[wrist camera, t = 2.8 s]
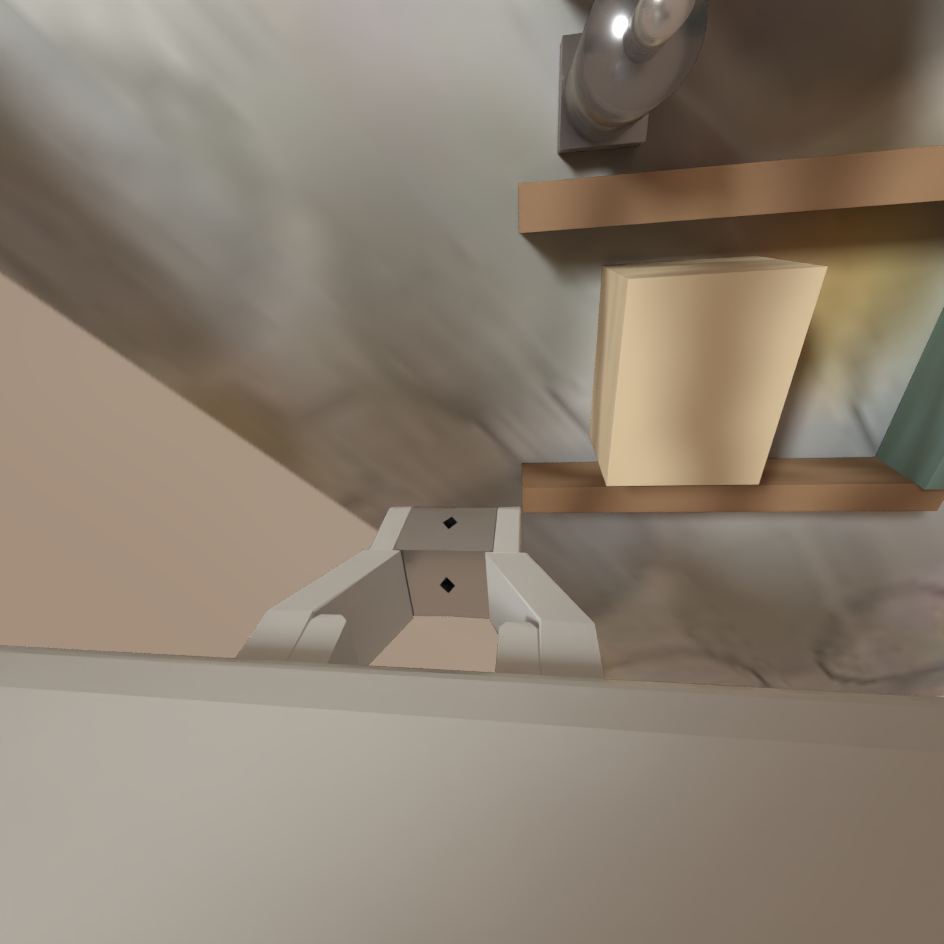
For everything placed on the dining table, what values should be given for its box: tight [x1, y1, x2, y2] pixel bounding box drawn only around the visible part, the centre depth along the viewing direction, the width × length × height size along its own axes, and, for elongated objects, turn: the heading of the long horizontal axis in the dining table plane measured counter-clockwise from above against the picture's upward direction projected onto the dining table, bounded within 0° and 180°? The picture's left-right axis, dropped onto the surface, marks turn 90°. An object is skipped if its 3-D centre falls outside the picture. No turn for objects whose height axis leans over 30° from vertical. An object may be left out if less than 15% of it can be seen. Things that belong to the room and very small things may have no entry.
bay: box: [518, 145, 944, 513], centre depth 18 cm, size 19×14×3 cm
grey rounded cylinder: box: [557, 0, 707, 154], centre depth 12 cm, size 3×3×8 cm
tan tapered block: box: [590, 256, 828, 486], centre depth 18 cm, size 6×8×5 cm
